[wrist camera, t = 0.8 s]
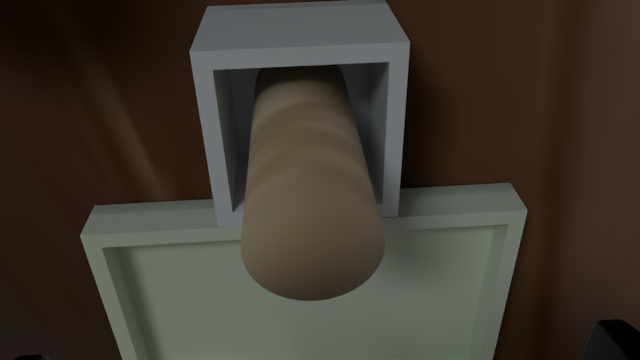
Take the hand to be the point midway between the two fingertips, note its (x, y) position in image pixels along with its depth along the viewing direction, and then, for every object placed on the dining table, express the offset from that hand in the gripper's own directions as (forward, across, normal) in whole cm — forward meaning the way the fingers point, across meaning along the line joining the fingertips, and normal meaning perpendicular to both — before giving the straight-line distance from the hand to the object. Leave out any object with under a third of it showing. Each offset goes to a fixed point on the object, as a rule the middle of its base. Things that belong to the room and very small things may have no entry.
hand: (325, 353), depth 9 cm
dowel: (+11, 0, 0) cm, 11 cm away
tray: (+11, 0, +10) cm, 15 cm away
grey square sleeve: (+11, 0, 0) cm, 11 cm away
